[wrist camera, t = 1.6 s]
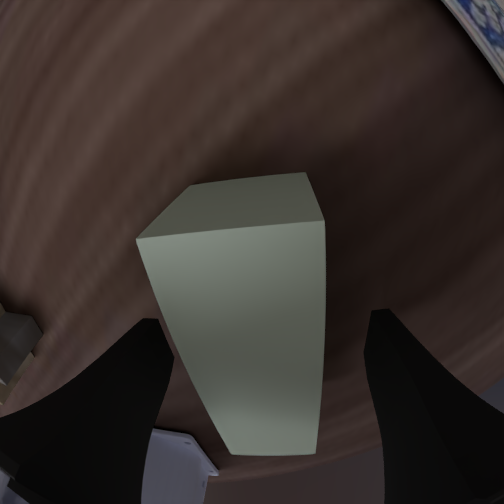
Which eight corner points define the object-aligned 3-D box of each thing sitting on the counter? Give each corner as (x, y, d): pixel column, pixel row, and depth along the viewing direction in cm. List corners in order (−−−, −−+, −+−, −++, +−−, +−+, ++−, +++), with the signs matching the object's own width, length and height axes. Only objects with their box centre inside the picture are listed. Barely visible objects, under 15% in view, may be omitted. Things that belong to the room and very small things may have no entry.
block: (304, 170, 8) (324, 220, 5) (311, 382, 13) (315, 453, 9) (191, 183, 9) (135, 238, 5) (241, 384, 13) (231, 454, 10)
